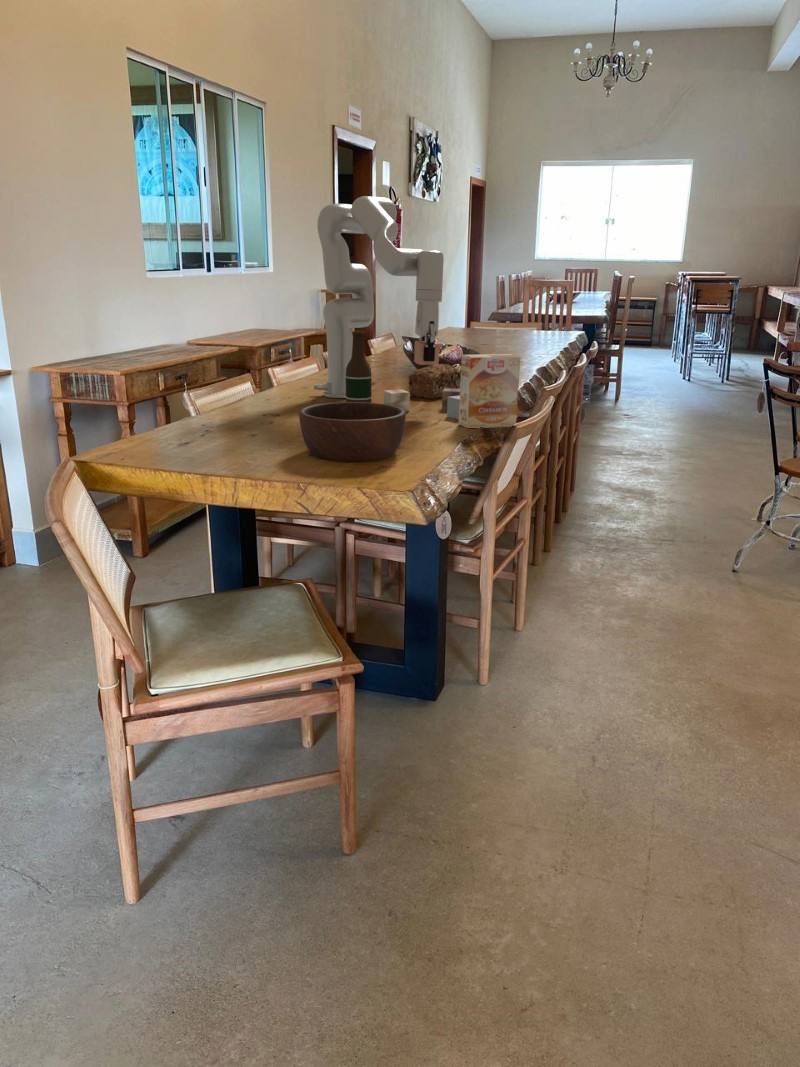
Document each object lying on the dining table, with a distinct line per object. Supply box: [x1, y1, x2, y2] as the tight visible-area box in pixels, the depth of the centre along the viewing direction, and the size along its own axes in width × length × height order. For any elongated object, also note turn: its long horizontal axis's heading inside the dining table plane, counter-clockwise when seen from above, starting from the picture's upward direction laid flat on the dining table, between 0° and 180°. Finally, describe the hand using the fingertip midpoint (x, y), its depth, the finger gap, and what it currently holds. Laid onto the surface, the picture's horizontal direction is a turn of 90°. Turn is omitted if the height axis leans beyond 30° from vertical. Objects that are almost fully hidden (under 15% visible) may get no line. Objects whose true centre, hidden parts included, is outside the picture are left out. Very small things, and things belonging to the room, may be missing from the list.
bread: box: [408, 363, 461, 400], centre depth 272 cm, size 19×11×10 cm, turn 145°
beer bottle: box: [345, 330, 372, 403], centre depth 235 cm, size 8×8×24 cm
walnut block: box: [441, 388, 460, 411], centre depth 246 cm, size 6×6×6 cm
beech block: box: [383, 389, 411, 413], centre depth 242 cm, size 6×6×6 cm
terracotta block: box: [413, 340, 440, 366], centre depth 233 cm, size 6×6×6 cm
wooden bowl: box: [298, 401, 407, 463], centre depth 187 cm, size 25×25×10 cm
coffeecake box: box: [458, 353, 521, 429], centre depth 219 cm, size 15×7×20 cm, turn 108°
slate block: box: [446, 396, 460, 420], centre depth 233 cm, size 6×6×6 cm
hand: (426, 358), depth 234 cm, fingers closed on terracotta block, 6 cm apart
